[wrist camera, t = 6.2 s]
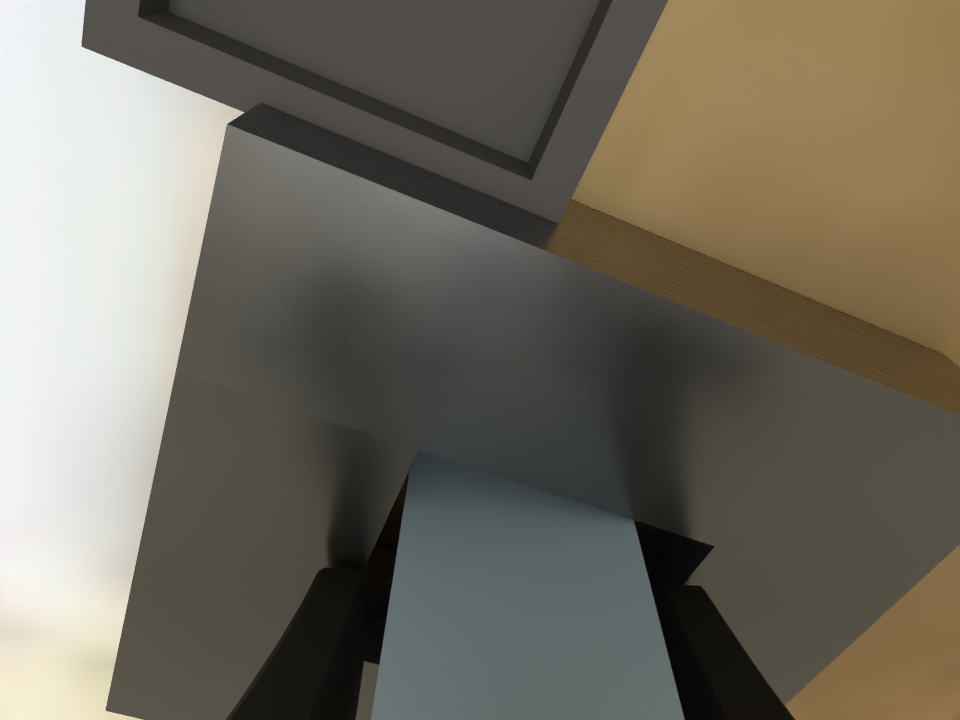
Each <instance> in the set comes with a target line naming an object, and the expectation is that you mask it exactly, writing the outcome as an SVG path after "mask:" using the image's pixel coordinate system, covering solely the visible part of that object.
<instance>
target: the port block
mask: <svg viewBox="0 0 960 720" xmlns="http://www.w3.org/2000/svg"><path fill="white" fill-rule="evenodd" d="M418 450H420V451H423V452H426V453H429V454H432V455H435V456H438V457H441V458H444V459H448V460H451V461H454V462H457V463H460V464H463V465H466V466H469V467H472V468H475V469H478V470H481V471H484V472H488V473H491V474H494V475H497V476H500V477H503V478H506V479H509V480H512V481H515V482H518V483H521V484H524V485H527V486H531V487H534V488H537V489H540V490H543V491H546V492H549V493H552V494H555V495H558V496H561V497H564V498H567V499H571V500H574V501H577V502H580V503H583V504H586V505H589V506H592V507H595V508H598V509H601V510H604V511H607V512H610V513H614V514H617V515H620V516H623V517H626V518H629V519H632V520H634V523H635V527H636V531H637V535H638V539H639V543H640V546H641V550H642V554H643V558H644V562H645V566H646V570H647V574H648V578H649V582H650V586H651V590H652V594H653V597H654V601H655V605H656V609H657V605H658V602H659V598H660V595H661V591H662V588H663V584H675V585H696V586H701V587H702V588H703V589H704V590H705V591H706V592H707V594H708V596H709V597H710V599H711V600H712V602H713V603H714V605H715V606H716V608H717V609H718V611H719V612H720V614H721V615H722V617H723V618H724V620H725V621H726V623H727V624H728V626H729V627H730V629H731V630H732V632H733V633H734V635H735V636H736V638H737V639H738V641H739V642H740V644H741V645H742V647H743V648H744V649H745V651H746V652H747V654H748V655H749V657H750V658H751V660H752V661H753V663H754V664H755V665H756V667H757V668H758V670H759V671H760V673H761V674H762V675H763V677H764V678H765V680H766V681H767V682H768V684H769V685H770V687H771V688H772V689H773V691H774V692H775V693H776V695H777V696H778V697H779V699H780V700H781V701H782V703H783V704H784V705H785V704H786V703H787V702H788V701H789V700H791V699H792V698H793V697H794V696H795V695H796V694H797V693H798V692H799V691H800V690H801V689H803V688H804V687H805V686H806V685H807V684H808V683H809V682H810V681H811V680H812V679H813V678H814V677H816V676H817V675H818V674H819V673H820V672H821V671H822V670H823V669H824V668H825V667H826V666H828V665H829V664H830V663H831V662H832V661H833V660H834V659H835V658H836V657H837V656H838V655H839V654H841V653H842V652H843V651H844V650H845V649H846V648H847V647H848V646H849V645H850V644H851V643H853V642H854V641H855V640H856V639H857V638H858V637H859V636H860V635H861V634H862V633H863V632H864V631H866V630H867V629H868V628H869V627H870V626H871V625H872V624H873V623H874V622H875V621H876V620H877V619H879V618H880V617H881V616H882V615H883V614H884V613H885V612H886V611H887V610H888V609H889V608H891V607H892V606H893V605H894V604H895V603H896V602H897V601H898V600H899V599H900V598H901V597H902V596H904V595H905V594H906V593H907V592H908V591H909V590H910V589H911V588H912V587H913V586H914V585H916V584H917V583H918V582H919V581H920V580H921V579H922V578H923V577H924V576H925V575H926V574H927V573H929V572H930V571H931V570H932V569H933V568H934V567H935V566H936V565H937V564H938V563H939V562H941V561H942V560H943V559H944V558H945V557H946V556H947V555H948V554H949V553H950V552H951V551H952V550H954V549H955V548H956V547H957V546H958V545H959V544H960V368H959V367H958V366H956V365H955V364H954V363H953V362H952V361H951V360H950V359H948V358H947V357H946V356H945V355H943V354H941V353H938V352H936V351H933V350H931V349H928V348H926V347H924V346H921V345H919V344H916V343H914V342H912V341H909V340H907V339H904V338H902V337H900V336H897V335H895V334H892V333H890V332H888V331H885V330H883V329H880V328H878V327H876V326H873V325H871V324H868V323H866V322H864V321H861V320H859V319H856V318H854V317H852V316H849V315H847V314H844V313H842V312H840V311H837V310H835V309H832V308H830V307H827V306H825V305H823V304H820V303H818V302H815V301H813V300H811V299H808V298H806V297H803V296H801V295H799V294H796V293H794V292H791V291H789V290H787V289H784V288H782V287H779V286H777V285H775V284H772V283H770V282H767V281H765V280H763V279H760V278H758V277H755V276H753V275H751V274H748V273H746V272H743V271H741V270H739V269H736V268H734V267H731V266H729V265H726V264H724V263H722V262H719V261H717V260H714V259H712V258H710V257H707V256H705V255H702V254H700V253H698V252H695V251H693V250H690V249H688V248H686V247H683V246H681V245H678V244H676V243H674V242H671V241H669V240H666V239H664V238H662V237H659V236H657V235H654V234H652V233H650V232H647V231H645V230H642V229H640V228H638V227H635V226H633V225H630V224H628V223H625V222H623V221H621V220H618V219H616V218H613V217H611V216H609V215H606V214H604V213H601V212H599V211H597V210H594V209H592V208H589V207H587V206H585V205H582V204H580V203H577V202H575V201H573V200H570V202H569V204H568V206H567V208H566V210H565V212H564V214H563V216H562V218H561V220H560V222H559V223H556V222H554V221H551V220H549V219H546V218H544V217H541V216H539V215H537V214H534V213H532V212H529V211H527V210H524V209H522V208H519V207H517V206H514V205H512V204H510V203H507V202H505V201H502V200H500V199H497V198H495V197H492V196H490V195H487V194H485V193H483V192H480V191H478V190H475V189H473V188H470V187H468V186H465V185H463V184H460V183H458V182H455V181H453V180H451V179H448V178H446V177H443V176H441V175H438V174H436V173H433V172H431V171H428V170H426V169H424V168H421V167H419V166H416V165H414V164H411V163H409V162H406V161H404V160H401V159H399V158H397V157H394V156H392V155H389V154H387V153H384V152H382V151H379V150H377V149H374V148H372V147H370V146H367V145H365V144H362V143H360V142H357V141H355V140H352V139H350V138H347V137H345V136H343V135H340V134H338V133H335V132H333V131H330V130H328V129H325V128H323V127H320V126H318V125H316V124H313V123H311V122H308V121H306V120H303V119H301V118H298V117H296V116H293V115H291V114H288V113H286V112H284V111H281V110H279V109H276V108H274V107H271V106H269V105H266V104H264V103H260V104H258V105H256V106H255V107H253V108H252V109H250V110H249V111H247V112H245V113H244V114H242V115H241V116H239V117H238V118H236V119H234V120H233V121H231V122H230V123H228V124H227V127H226V132H225V137H224V142H223V147H222V151H221V156H220V161H219V166H218V171H217V176H216V180H215V185H214V190H213V195H212V200H211V204H210V209H209V214H208V219H207V224H206V229H205V233H204V238H203V243H202V248H201V253H200V258H199V262H198V267H197V272H196V277H195V282H194V286H193V291H192V296H191V301H190V306H189V311H188V315H187V320H186V325H185V330H184V335H183V340H182V344H181V349H180V354H179V359H178V364H177V368H176V373H175V378H174V383H173V388H172V393H171V397H170V402H169V407H168V412H167V417H166V421H165V426H164V431H163V436H162V441H161V446H160V450H159V455H158V460H157V465H156V470H155V475H154V479H153V484H152V489H151V494H150V499H149V503H148V508H147V513H146V518H145V523H144V528H143V532H142V537H141V542H140V547H139V552H138V557H137V561H136V566H135V571H134V576H133V581H132V585H131V590H130V595H129V600H128V605H127V610H126V614H125V619H124V624H123V629H122V634H121V638H120V643H119V648H118V653H117V658H116V663H115V667H114V672H113V677H112V682H111V687H110V692H109V696H108V701H107V706H106V711H109V712H113V713H118V714H122V715H126V716H131V717H135V718H139V719H144V720H225V719H226V718H227V717H228V715H229V714H230V713H231V711H232V710H233V708H234V707H235V706H236V704H237V703H238V702H239V700H240V699H241V697H242V696H243V695H244V693H245V692H246V690H247V689H248V687H249V686H250V684H251V683H252V681H253V680H254V678H255V677H256V675H257V674H258V672H259V671H260V669H261V668H262V666H263V665H264V663H265V662H266V660H267V658H268V657H269V655H270V654H271V652H272V651H273V649H274V648H275V646H276V645H277V643H278V641H279V640H280V638H281V637H282V635H283V633H284V632H285V630H286V628H287V627H288V625H289V623H290V622H291V620H292V618H293V617H294V615H295V613H296V612H297V610H298V608H299V606H300V605H301V603H302V601H303V599H304V597H305V595H306V594H307V592H308V590H309V588H310V586H311V584H312V582H313V580H314V578H315V576H316V574H317V572H318V571H320V570H321V569H323V568H324V567H325V568H346V569H362V588H363V608H364V628H365V647H366V651H365V658H364V665H363V673H362V680H361V687H360V694H359V701H358V707H357V714H356V719H355V720H371V716H372V709H373V703H374V696H375V690H376V683H377V677H378V671H379V664H380V658H381V651H382V645H383V638H384V632H385V626H386V619H387V613H388V606H389V600H390V593H391V587H392V581H393V574H394V568H395V561H396V555H397V550H395V549H392V548H389V547H385V546H382V545H378V544H376V542H377V539H378V537H379V535H380V533H381V531H382V528H383V526H384V524H385V522H386V520H387V518H388V515H389V513H390V511H391V509H392V507H393V505H394V502H395V500H396V498H397V496H398V494H399V492H400V489H401V487H402V485H403V483H404V481H405V478H406V476H407V474H408V472H409V470H410V468H411V465H412V463H413V461H414V459H415V457H416V455H417V452H418Z"/></svg>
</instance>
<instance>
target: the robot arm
mask: <svg viewBox="0 0 960 720" xmlns="http://www.w3.org/2000/svg"><path fill="white" fill-rule="evenodd" d="M657 613H658V617H659V621H660V625H661V629H662V633H663V637H664V641H665V645H666V649H667V652H668V656H669V660H670V664H671V668H672V672H673V676H674V680H675V684H676V688H677V692H678V696H679V700H680V703H681V707H682V711H683V715H684V719H685V720H795V719H794V718H793V716H792V715H791V714H790V712H789V711H788V710H787V708H786V707H785V705H784V704H783V703H782V701H781V700H780V699H779V697H778V696H777V695H776V693H775V692H774V691H773V689H772V688H771V687H770V685H769V684H768V682H767V681H766V680H765V678H764V677H763V675H762V674H761V673H760V671H759V670H758V668H757V667H756V665H755V664H754V663H753V661H752V660H751V658H750V657H749V655H748V654H747V652H746V651H745V649H744V648H743V647H742V645H741V644H740V642H739V641H738V639H737V638H736V636H735V635H734V633H733V632H732V630H731V629H730V627H729V626H728V624H727V623H726V621H725V620H724V618H723V617H722V615H721V614H720V612H719V611H718V609H717V608H716V606H715V605H714V603H713V602H712V600H711V599H710V597H709V596H708V594H707V592H706V591H705V590H704V589H703V588H702V587H701V586H696V585H675V584H663V588H662V591H661V595H660V598H659V602H658V605H657ZM365 651H366V647H365V628H364V608H363V588H362V569H346V568H325V567H324V568H323V569H321V570H320V571H318V572H317V574H316V576H315V578H314V580H313V582H312V584H311V586H310V588H309V590H308V592H307V594H306V595H305V597H304V599H303V601H302V603H301V605H300V606H299V608H298V610H297V612H296V613H295V615H294V617H293V618H292V620H291V622H290V623H289V625H288V627H287V628H286V630H285V632H284V633H283V635H282V637H281V638H280V640H279V641H278V643H277V645H276V646H275V648H274V649H273V651H272V652H271V654H270V655H269V657H268V658H267V660H266V662H265V663H264V665H263V666H262V668H261V669H260V671H259V672H258V674H257V675H256V677H255V678H254V680H253V681H252V683H251V684H250V686H249V687H248V689H247V690H246V692H245V693H244V695H243V696H242V697H241V699H240V700H239V702H238V703H237V704H236V706H235V707H234V708H233V710H232V711H231V713H230V714H229V715H228V717H227V718H226V719H225V720H355V719H356V714H357V707H358V701H359V694H360V687H361V680H362V673H363V665H364V658H365Z"/></svg>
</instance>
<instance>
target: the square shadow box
mask: <svg viewBox="0 0 960 720" xmlns="http://www.w3.org/2000/svg"><path fill="white" fill-rule="evenodd" d="M667 1H668V0H86V4H85V14H84V25H83V36H82V46H81V47H84V48H86V49H89V50H91V51H94V52H96V53H99V54H101V55H104V56H106V57H109V58H111V59H114V60H116V61H119V62H121V63H124V64H126V65H129V66H131V67H134V68H136V69H139V70H141V71H144V72H146V73H148V74H151V75H153V76H156V77H158V78H161V79H163V80H166V81H168V82H171V83H173V84H176V85H178V86H181V87H183V88H186V89H188V90H191V91H193V92H196V93H198V94H201V95H203V96H206V97H208V98H211V99H213V100H216V101H218V102H220V103H223V104H225V105H228V106H230V107H233V108H235V109H238V110H240V111H243V112H247V111H249V110H250V109H252V108H253V107H255V106H256V105H258V104H260V103H264V104H266V105H269V106H271V107H274V108H276V109H279V110H281V111H284V112H286V113H288V114H291V115H293V116H296V117H298V118H301V119H303V120H306V121H308V122H311V123H313V124H316V125H318V126H320V127H323V128H325V129H328V130H330V131H333V132H335V133H338V134H340V135H343V136H345V137H347V138H350V139H352V140H355V141H357V142H360V143H362V144H365V145H367V146H370V147H372V148H374V149H377V150H379V151H382V152H384V153H387V154H389V155H392V156H394V157H397V158H399V159H401V160H404V161H406V162H409V163H411V164H414V165H416V166H419V167H421V168H424V169H426V170H428V171H431V172H433V173H436V174H438V175H441V176H443V177H446V178H448V179H451V180H453V181H455V182H458V183H460V184H463V185H465V186H468V187H470V188H473V189H475V190H478V191H480V192H483V193H485V194H487V195H490V196H492V197H495V198H497V199H500V200H502V201H505V202H507V203H510V204H512V205H514V206H517V207H519V208H522V209H524V210H527V211H529V212H532V213H534V214H537V215H539V216H541V217H544V218H546V219H549V220H551V221H554V222H556V223H559V222H560V220H561V218H562V216H563V214H564V212H565V210H566V208H567V206H568V204H569V202H570V200H571V198H572V196H573V193H574V191H575V189H576V187H577V185H578V183H579V181H580V179H581V177H582V175H583V173H584V171H585V169H586V167H587V165H588V163H589V161H590V159H591V157H592V155H593V153H594V150H595V148H596V146H597V144H598V142H599V140H600V138H601V136H602V134H603V132H604V130H605V128H606V126H607V124H608V122H609V120H610V118H611V116H612V114H613V112H614V110H615V108H616V105H617V103H618V101H619V99H620V97H621V95H622V93H623V91H624V89H625V87H626V85H627V83H628V81H629V79H630V77H631V75H632V73H633V71H634V69H635V67H636V65H637V62H638V60H639V58H640V56H641V54H642V52H643V50H644V48H645V46H646V44H647V42H648V40H649V38H650V36H651V34H652V32H653V30H654V28H655V26H656V24H657V22H658V20H659V17H660V15H661V13H662V11H663V9H664V7H665V5H666V3H667Z"/></svg>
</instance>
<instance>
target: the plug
mask: <svg viewBox="0 0 960 720" xmlns="http://www.w3.org/2000/svg"><path fill="white" fill-rule="evenodd" d="M371 720H685V719H684V715H683V711H682V707H681V703H680V700H679V696H678V692H677V688H676V684H675V680H674V676H673V672H672V668H671V664H670V660H669V656H668V652H667V649H666V645H665V641H664V637H663V633H662V629H661V625H660V621H659V617H658V613H657V609H656V605H655V601H654V597H653V594H652V590H651V586H650V582H649V578H648V574H647V570H646V566H645V562H644V558H643V554H642V550H641V546H640V543H639V539H638V535H637V531H636V527H635V523H634V520H632V519H629V518H626V517H623V516H620V515H617V514H614V513H610V512H607V511H604V510H601V509H598V508H595V507H592V506H589V505H586V504H583V503H580V502H577V501H574V500H571V499H567V498H564V497H561V496H558V495H555V494H552V493H549V492H546V491H543V490H540V489H537V488H534V487H531V486H527V485H524V484H521V483H518V482H515V481H512V480H509V479H506V478H503V477H500V476H497V475H494V474H491V473H488V472H484V471H481V470H478V469H475V468H472V467H469V466H466V465H463V464H460V463H457V462H454V461H451V460H448V459H444V458H441V457H438V456H435V455H432V454H429V453H426V452H423V451H420V450H418V452H417V455H416V457H415V459H414V461H413V463H412V465H411V468H410V471H409V478H408V484H407V490H406V497H405V503H404V510H403V516H402V523H401V529H400V536H399V542H398V548H397V555H396V561H395V568H394V574H393V581H392V587H391V593H390V600H389V606H388V613H387V619H386V626H385V632H384V638H383V645H382V651H381V658H380V664H379V671H378V677H377V683H376V690H375V696H374V703H373V709H372V716H371Z"/></svg>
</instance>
